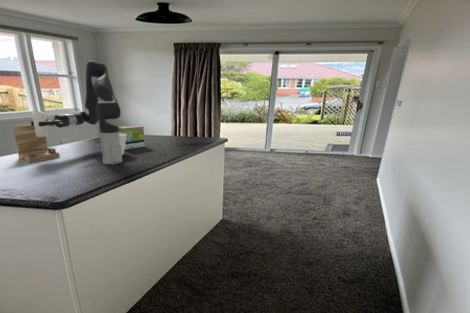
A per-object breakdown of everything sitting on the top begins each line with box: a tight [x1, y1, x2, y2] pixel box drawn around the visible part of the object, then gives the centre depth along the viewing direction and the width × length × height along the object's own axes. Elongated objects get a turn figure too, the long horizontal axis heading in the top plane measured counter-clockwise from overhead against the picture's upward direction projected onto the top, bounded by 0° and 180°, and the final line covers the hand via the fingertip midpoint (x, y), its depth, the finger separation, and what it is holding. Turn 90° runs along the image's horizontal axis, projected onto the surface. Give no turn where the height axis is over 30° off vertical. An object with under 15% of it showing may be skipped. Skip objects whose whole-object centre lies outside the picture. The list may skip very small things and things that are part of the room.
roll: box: [31, 111, 50, 138], centre depth 135 cm, size 6×6×13 cm
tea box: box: [117, 124, 145, 151], centre depth 172 cm, size 15×10×15 cm, turn 143°
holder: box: [12, 124, 60, 163], centre depth 139 cm, size 14×14×18 cm
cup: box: [119, 133, 126, 156], centre depth 152 cm, size 12×12×12 cm
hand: (35, 123), depth 133 cm, fingers closed on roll, 5 cm apart
